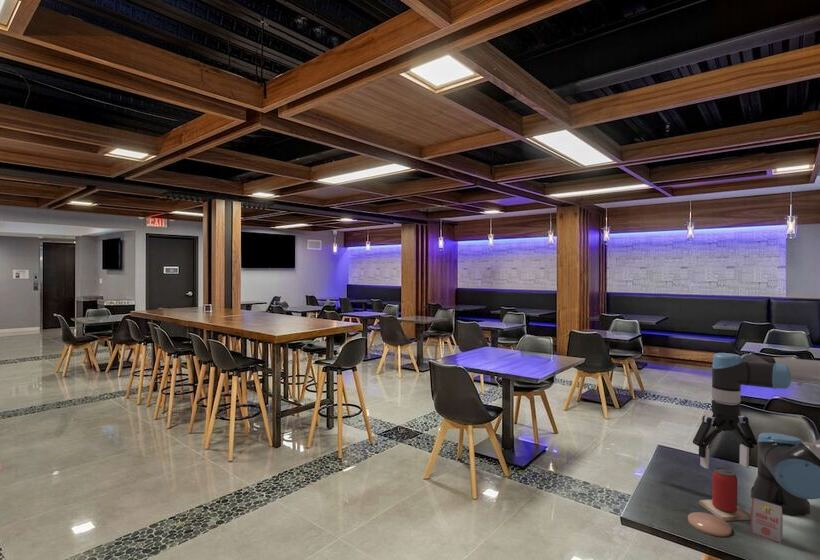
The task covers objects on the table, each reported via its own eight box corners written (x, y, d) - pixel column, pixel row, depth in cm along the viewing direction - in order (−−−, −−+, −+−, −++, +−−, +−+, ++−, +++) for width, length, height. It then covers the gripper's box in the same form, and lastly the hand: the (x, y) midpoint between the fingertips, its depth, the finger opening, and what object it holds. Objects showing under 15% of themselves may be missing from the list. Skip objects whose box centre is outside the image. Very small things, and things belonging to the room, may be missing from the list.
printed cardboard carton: (753, 528, 131) (754, 495, 131) (782, 538, 126) (783, 504, 126) (750, 532, 129) (750, 499, 128) (779, 543, 123) (780, 509, 123)
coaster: (712, 514, 138) (712, 511, 138) (741, 535, 127) (741, 532, 127) (679, 516, 137) (679, 513, 137) (705, 537, 126) (705, 533, 126)
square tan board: (726, 502, 145) (726, 498, 145) (752, 519, 135) (752, 515, 135) (698, 503, 145) (698, 500, 145) (722, 520, 135) (722, 517, 135)
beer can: (741, 514, 136) (742, 476, 136) (718, 512, 137) (718, 474, 137) (730, 503, 143) (730, 467, 142) (708, 501, 144) (708, 465, 144)
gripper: (751, 397, 144) (750, 460, 145) (680, 398, 142) (679, 462, 143) (772, 404, 137) (770, 470, 137) (697, 405, 135) (696, 472, 135)
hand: (724, 466), depth 140 cm, fingers open, 13 cm apart
